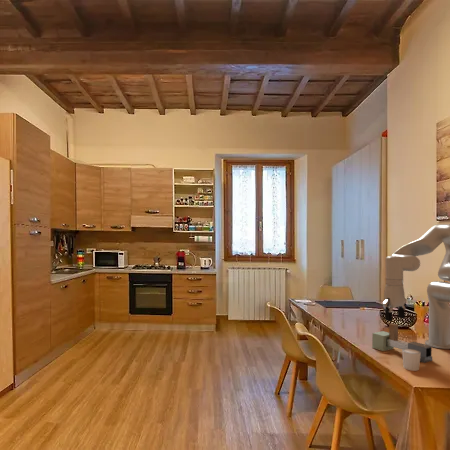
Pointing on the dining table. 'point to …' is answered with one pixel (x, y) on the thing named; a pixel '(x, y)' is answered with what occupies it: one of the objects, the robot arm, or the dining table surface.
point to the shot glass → (411, 359)
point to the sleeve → (422, 351)
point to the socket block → (380, 341)
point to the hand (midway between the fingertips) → (395, 319)
